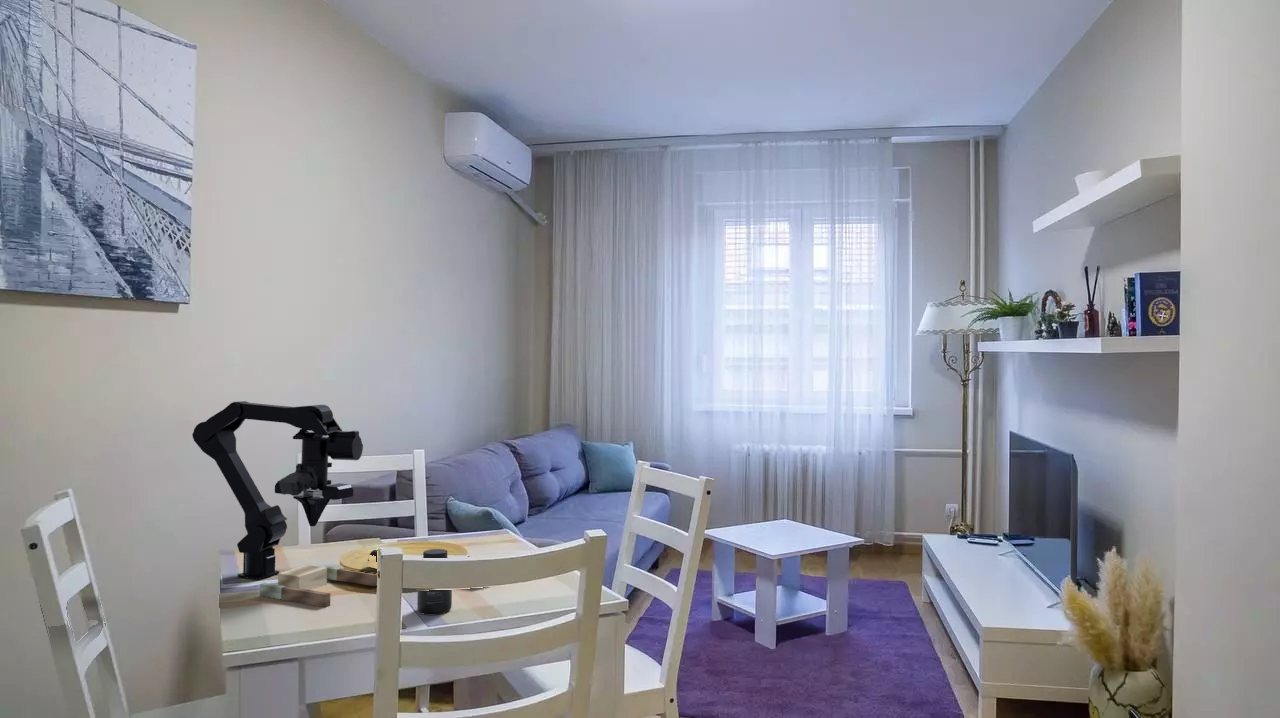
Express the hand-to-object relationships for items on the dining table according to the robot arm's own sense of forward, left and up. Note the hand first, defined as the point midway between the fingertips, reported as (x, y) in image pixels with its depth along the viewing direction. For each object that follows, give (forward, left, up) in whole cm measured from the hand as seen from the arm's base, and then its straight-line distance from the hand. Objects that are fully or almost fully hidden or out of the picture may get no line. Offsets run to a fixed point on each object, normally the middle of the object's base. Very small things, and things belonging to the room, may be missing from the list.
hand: (312, 526), depth 178 cm
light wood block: (+4, -7, -12) cm, 15 cm away
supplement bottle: (+40, -8, -12) cm, 42 cm away
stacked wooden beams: (+10, -7, -12) cm, 17 cm away
